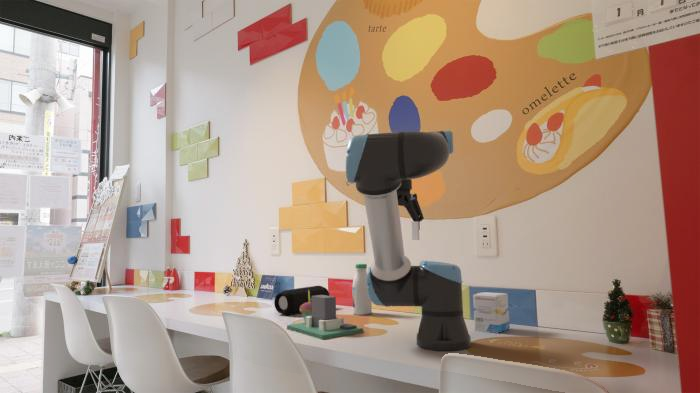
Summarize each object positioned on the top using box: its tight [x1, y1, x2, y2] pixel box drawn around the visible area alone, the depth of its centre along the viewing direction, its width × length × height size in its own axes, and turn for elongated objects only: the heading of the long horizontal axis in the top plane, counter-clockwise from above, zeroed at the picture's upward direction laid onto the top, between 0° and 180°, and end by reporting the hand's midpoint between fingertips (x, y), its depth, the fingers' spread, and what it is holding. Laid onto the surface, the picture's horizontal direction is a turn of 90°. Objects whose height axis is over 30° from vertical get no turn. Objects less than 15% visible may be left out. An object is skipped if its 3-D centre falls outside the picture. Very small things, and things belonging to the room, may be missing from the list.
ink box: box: [472, 291, 511, 334], centre depth 147 cm, size 9×8×12 cm
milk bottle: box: [351, 263, 373, 316], centre depth 184 cm, size 8×8×20 cm
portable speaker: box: [273, 285, 331, 316], centre depth 193 cm, size 26×10×10 cm, turn 142°
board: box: [286, 316, 364, 340], centre depth 151 cm, size 22×16×4 cm
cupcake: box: [300, 289, 312, 321], centre depth 170 cm, size 9×8×12 cm
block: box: [312, 295, 337, 328], centre depth 152 cm, size 9×4×10 cm, turn 37°
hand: (402, 240), depth 155 cm, fingers open, 13 cm apart
